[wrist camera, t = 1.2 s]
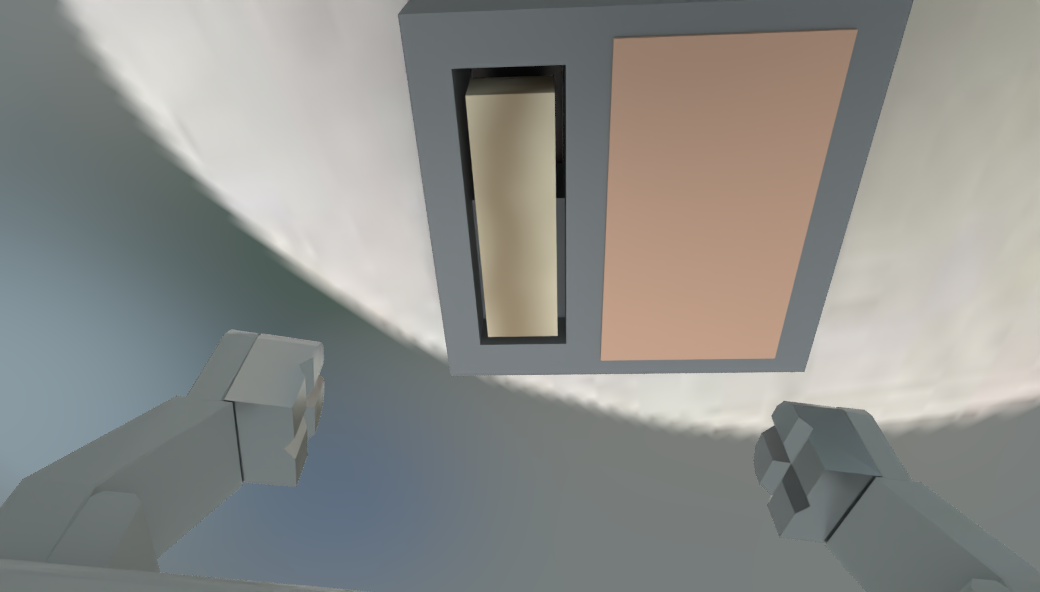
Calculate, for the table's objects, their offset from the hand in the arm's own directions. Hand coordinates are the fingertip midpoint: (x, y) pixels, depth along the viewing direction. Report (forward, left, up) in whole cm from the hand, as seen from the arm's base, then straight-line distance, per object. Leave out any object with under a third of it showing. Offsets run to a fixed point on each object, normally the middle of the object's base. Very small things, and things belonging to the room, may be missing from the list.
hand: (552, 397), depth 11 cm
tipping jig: (-4, +8, -27) cm, 29 cm away
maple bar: (+2, +8, -23) cm, 24 cm away
